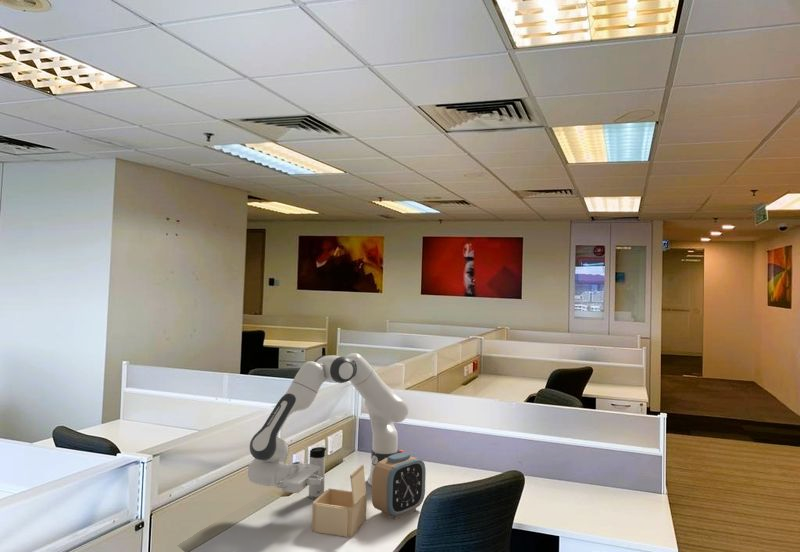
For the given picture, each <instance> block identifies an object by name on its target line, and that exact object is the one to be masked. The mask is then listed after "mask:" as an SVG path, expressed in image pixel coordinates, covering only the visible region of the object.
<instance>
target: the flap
mask: <svg viewBox="0 0 800 552" xmlns="http://www.w3.org/2000/svg"><path fill="white" fill-rule="evenodd" d="M364 469H365V467H364V464H361V465H360V466H358V468H356V469H355V470H354V471H353V472H352V473H351V474H350V476H349V479H350V486H351V491H352V498H353V505H355V504H356V503H357V502H358V501H359V500H360V499H361V497H362V496H363V495H364V494H365V493H367V489H366V488H367V487H366V478H365V477H366V476H365V470H364Z"/></svg>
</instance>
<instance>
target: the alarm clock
mask: <svg viewBox="0 0 800 552" xmlns="http://www.w3.org/2000/svg"><path fill="white" fill-rule="evenodd" d="M426 474H427V473H426V465H425V462H424V461H423V460H421V459H420V458H416V457H414V456H413V457H412V456H411V453H408V452H405V451H404V452H402V453H397V454H394V455H391V456H389V457H388V458H386V459H383V460H381V461H379V462H378V463H377V464H376V466H375V468H374V470H373V474H372V485H371V502H372V506H373V507H374V509H377V510H378V511H381V514H383V515H385V516H387V515H388V516H387V517H389V516H390V517H389V518H392V519H394V518H395V519H394V520H396V518H397V519H400V518H402V517H404V516H406V515H409V514H411V513H413V512H416V511H417V508H418V507H420V506H421V505H422V503H423V501H424V498H425V494H426ZM401 516H402V517H401ZM399 517H400V518H399Z"/></svg>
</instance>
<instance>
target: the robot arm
mask: <svg viewBox="0 0 800 552" xmlns="http://www.w3.org/2000/svg"><path fill="white" fill-rule="evenodd" d="M325 382H329V383H337V384H344V383H345V384H346V383H347V382H350V383H351V385H352V386H353V387H354V389H355V390H356V391H357V393H359V395H360V396H361V398H363V399H364V407H365V409H366V410H367V413H368V415H369V420H370V424H371V431H372V432H371V433H372V449H371V453H370V454H371V456H370V459H371V464H370V471H369V475H368V480H367V483H368V484H369V485H370V486H372V474H373V470H374V468H375V466H376V464H377V463H378V462H379V461H381V460H383V459H386V458H388V457H389V456H391V455H394V454H397V453H402V452H405V451H404V450H402V449H400V450H399V449H398V441H399V439H398V438H399V435H398V434H399V432H398V430H397V429H396V427H395V423H402V422H403V421H405V420H406V418H407V417H408V414H409V406H408V403H406V402H405V401H404V400H403V399H402V398H401V397H400V396H398V394H396V392H395V391H393V390H392V388H391V387H389V385H387V384H386V383H385V382H384V381H383V379H382V378H381V377H380V376H379V374H377V372H376V371H375V369H374V368H373V367H372V365H370V363H369V362H368V361H367V360H366V358H364V357H363V356H362V355H360V354H359V353H358V352H351V353H349V354H348V355H346V356H341V355H334V354H333V355H330V354H329V355H327V354H326V355H325V354H324V355H320V356H319V357H317V358H316V359H315V360H314V361H311V360H310V361H309V360H308V361H306V362H304V363H303V364H302V365H301V367H300V368H299V370H298V371H297V372H296V375H295V376H294V377H293V380H292V382H291V384H290V385H289V387H288V388H287V391H286V392H285V394H283V396H281V398H279V400H278V401H277V403H276V405H275V406H274V408H273V409H272V411H271V413H270V414H269V416H268V417H267V419H266V421H265V422H264V424H263V426H261V428H260V429H259V430H258V431H257V432H256V433H255V434H254V435H253V436H252V438H251V440H250V442H249V452H250V454H251V456H252V457H253V458H254V459H253V460H251V461H250V462H251V463H250V462H249V463H250V464H249V463H248V465H249V466H248V465H247V467H249V468H248V469H249V470H248V476H247V478H248V477H249V479H248V480H249V481H250V482H251V483H252V484H255V485H258V486H262V487H274V488H276V489H281V490H282V491H284V492H286V493H290V494H291V493H292V494H299V493H301V492H302V491H303V490H304V489H306V488H307V487H309V485H314V484H319V485H320V484H321V483H322V482H323V481H324V482H325V478H323V477H319V476H320V475H321V467H320V466H318V465H313V464H310V463H303V462H302V461H294V462H291V463H286V461H287V458H288V455H289V451H290V448H289V445H288V443H287V442H286V440H284V439H282V438H280V437H278V435H279V434H280V433H279V432H280V431H281V430H282V428H283V426H284V424H285V423H286V421H287V419H288V418H289V417H290V416H291V415H292V414H293V413H295V412H299V411H304V410H307V409H309V408H310V406H311V405H312V404H313V403H314V401H315V399H316V397H317V395H318V392H319V391H320V388H321V386H322V385H323V383H325Z"/></svg>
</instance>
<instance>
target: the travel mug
mask: <svg viewBox="0 0 800 552" xmlns="http://www.w3.org/2000/svg"><path fill="white" fill-rule="evenodd" d="M326 451H327V448H326V447H324V446H318V447H312V448H311V449H310V450H309V464H313V465H318V466H320V467H321V475H320V476H319V477H323V478H324V479H325V477H326V476H325V474H326V473H325V469H326ZM324 492H325V480H324V481H323V482H322V483H321V484H320V485H319V484H314V485H308V498H309V499H312V500H316V499H317V498H318V497H319V496H320V495H321V494H323V493H324Z"/></svg>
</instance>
